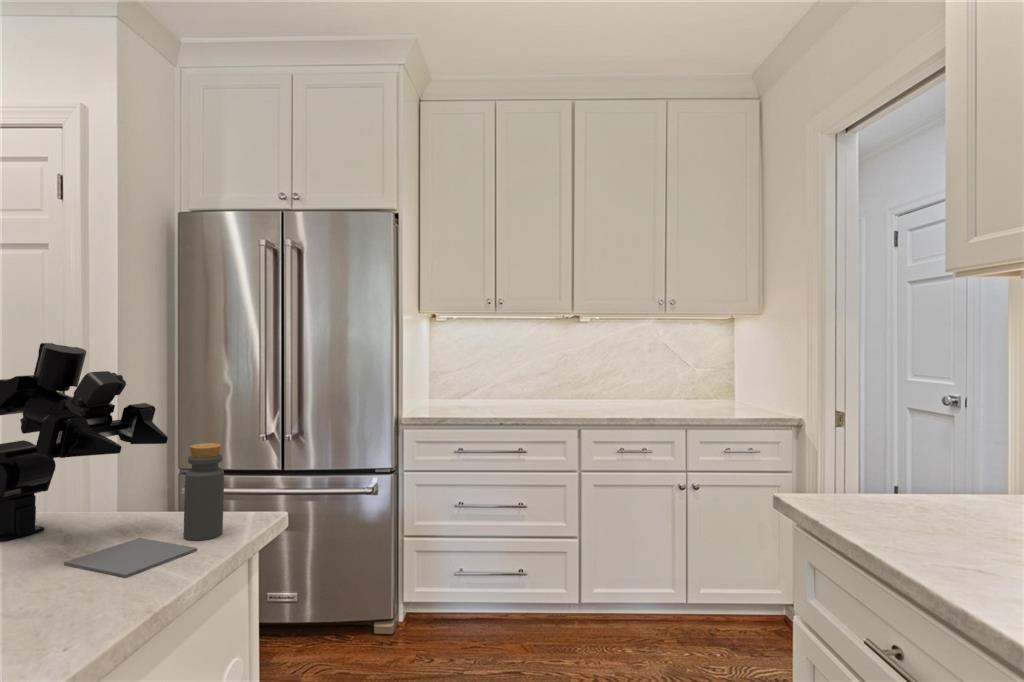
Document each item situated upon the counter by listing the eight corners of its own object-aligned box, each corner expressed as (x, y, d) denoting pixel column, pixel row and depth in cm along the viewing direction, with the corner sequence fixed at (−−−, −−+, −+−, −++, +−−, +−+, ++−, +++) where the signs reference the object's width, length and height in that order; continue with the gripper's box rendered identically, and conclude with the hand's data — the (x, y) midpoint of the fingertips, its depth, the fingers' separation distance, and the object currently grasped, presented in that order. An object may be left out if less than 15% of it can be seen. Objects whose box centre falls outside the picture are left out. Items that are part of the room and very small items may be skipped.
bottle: (206, 542, 99) (209, 449, 99) (175, 539, 101) (177, 447, 101) (230, 531, 105) (232, 443, 105) (200, 528, 106) (202, 441, 106)
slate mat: (64, 564, 88) (64, 562, 88) (139, 540, 100) (139, 537, 100) (125, 577, 84) (125, 574, 84) (197, 550, 96) (197, 547, 96)
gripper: (19, 368, 89) (106, 401, 86) (124, 364, 108) (199, 391, 105) (1, 441, 90) (87, 476, 87) (108, 425, 108) (183, 453, 105)
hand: (144, 445), depth 96 cm, fingers open, 9 cm apart
